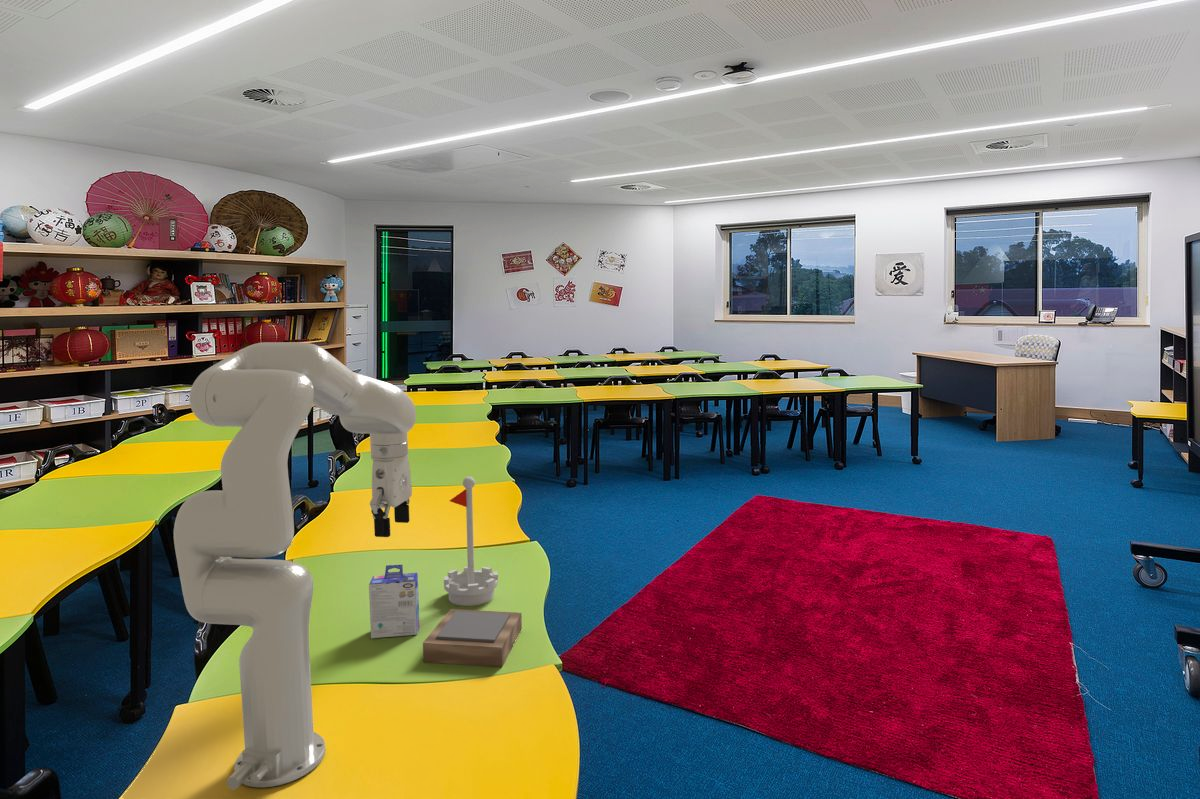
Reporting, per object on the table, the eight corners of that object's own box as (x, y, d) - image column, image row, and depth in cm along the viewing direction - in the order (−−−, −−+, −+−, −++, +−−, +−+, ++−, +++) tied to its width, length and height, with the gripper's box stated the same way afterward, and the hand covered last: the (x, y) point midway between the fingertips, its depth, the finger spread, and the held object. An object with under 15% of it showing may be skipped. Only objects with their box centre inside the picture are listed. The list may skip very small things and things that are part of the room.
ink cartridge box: (420, 624, 151) (418, 561, 149) (418, 635, 146) (416, 570, 144) (374, 628, 149) (371, 564, 148) (370, 639, 144) (367, 573, 142)
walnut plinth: (502, 667, 132) (501, 645, 132) (423, 661, 134) (422, 640, 134) (521, 630, 148) (521, 610, 148) (451, 626, 150) (450, 606, 150)
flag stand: (482, 582, 176) (480, 468, 172) (508, 598, 165) (506, 477, 162) (435, 594, 168) (431, 475, 164) (459, 612, 157) (455, 485, 154)
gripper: (388, 459, 134) (392, 543, 136) (422, 443, 151) (424, 517, 153) (352, 458, 135) (356, 541, 137) (390, 442, 152) (393, 516, 154)
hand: (392, 529), depth 145 cm, fingers open, 9 cm apart
